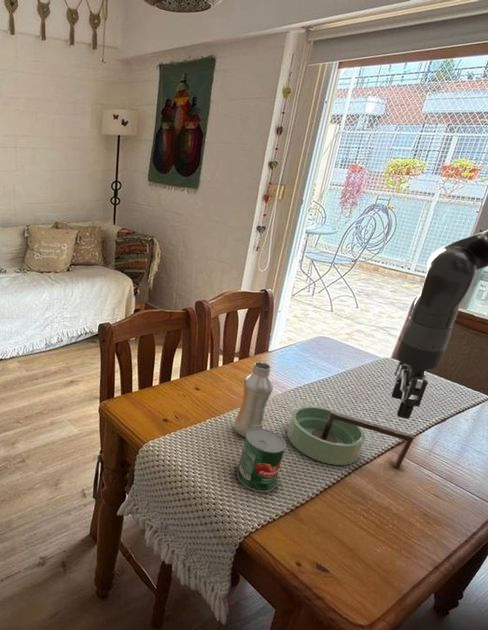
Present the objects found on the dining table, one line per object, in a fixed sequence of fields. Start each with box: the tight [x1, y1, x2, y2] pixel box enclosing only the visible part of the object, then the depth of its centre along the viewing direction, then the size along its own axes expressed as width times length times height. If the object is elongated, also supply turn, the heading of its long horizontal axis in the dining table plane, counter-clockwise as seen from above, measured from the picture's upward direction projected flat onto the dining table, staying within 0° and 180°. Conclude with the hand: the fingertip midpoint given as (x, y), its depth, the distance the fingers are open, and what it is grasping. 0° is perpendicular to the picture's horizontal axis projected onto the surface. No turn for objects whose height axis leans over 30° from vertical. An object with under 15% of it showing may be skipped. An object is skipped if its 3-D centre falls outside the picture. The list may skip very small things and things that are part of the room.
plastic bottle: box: [234, 361, 274, 438], centre depth 108 cm, size 6×7×20 cm
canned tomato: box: [236, 428, 287, 493], centre depth 95 cm, size 8×8×11 cm
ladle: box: [311, 411, 414, 469], centre depth 104 cm, size 19×6×9 cm, turn 62°
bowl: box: [286, 405, 366, 466], centre depth 108 cm, size 16×16×6 cm
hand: (399, 407), depth 98 cm, fingers open, 8 cm apart
